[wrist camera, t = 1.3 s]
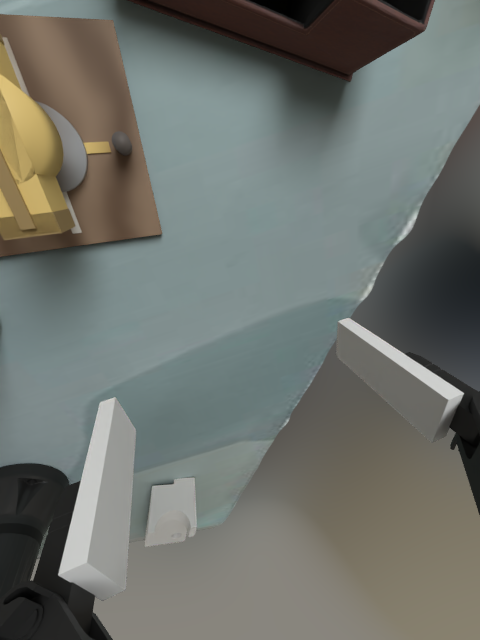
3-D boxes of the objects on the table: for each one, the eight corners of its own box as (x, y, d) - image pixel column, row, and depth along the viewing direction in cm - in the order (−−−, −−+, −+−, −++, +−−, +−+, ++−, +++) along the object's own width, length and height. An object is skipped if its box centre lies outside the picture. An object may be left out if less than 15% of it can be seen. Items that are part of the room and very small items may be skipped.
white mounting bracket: (152, 480, 58) (147, 533, 49) (194, 477, 61) (196, 526, 52) (146, 523, 65) (141, 577, 56) (184, 519, 68) (185, 569, 59)
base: (-6, 256, 30) (-53, 276, 23) (-146, 13, 20) (-299, -79, 13) (162, 232, 35) (165, 243, 28) (114, 25, 25) (100, -38, 18)
